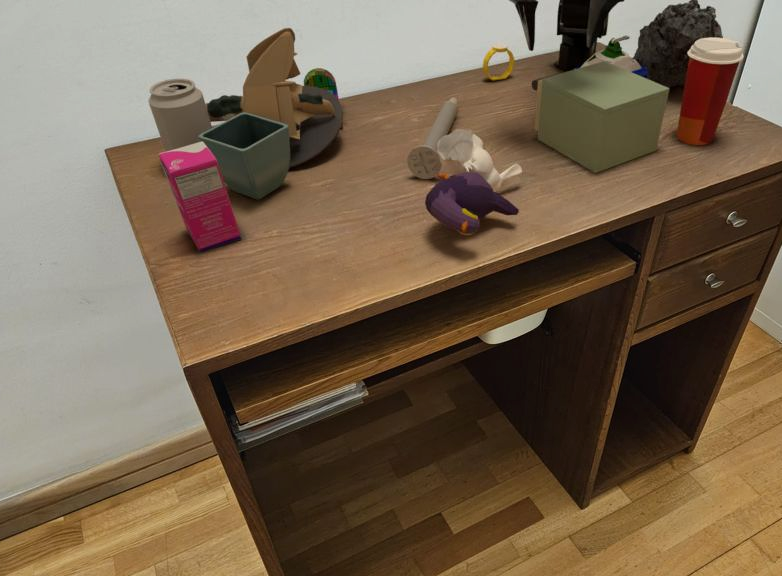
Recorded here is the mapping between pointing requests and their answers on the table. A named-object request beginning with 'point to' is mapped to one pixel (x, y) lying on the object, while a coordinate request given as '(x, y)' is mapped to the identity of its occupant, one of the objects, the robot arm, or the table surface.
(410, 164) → the screw
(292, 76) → the toy
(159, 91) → the can
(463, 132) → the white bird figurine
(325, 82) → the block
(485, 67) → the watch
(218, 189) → the supplement box
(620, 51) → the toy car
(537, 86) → the drawer
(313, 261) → the table surface
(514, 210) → the toy
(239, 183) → the flower pot
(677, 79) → the rock
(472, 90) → the table surface
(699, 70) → the paper cup
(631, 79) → the storage box
